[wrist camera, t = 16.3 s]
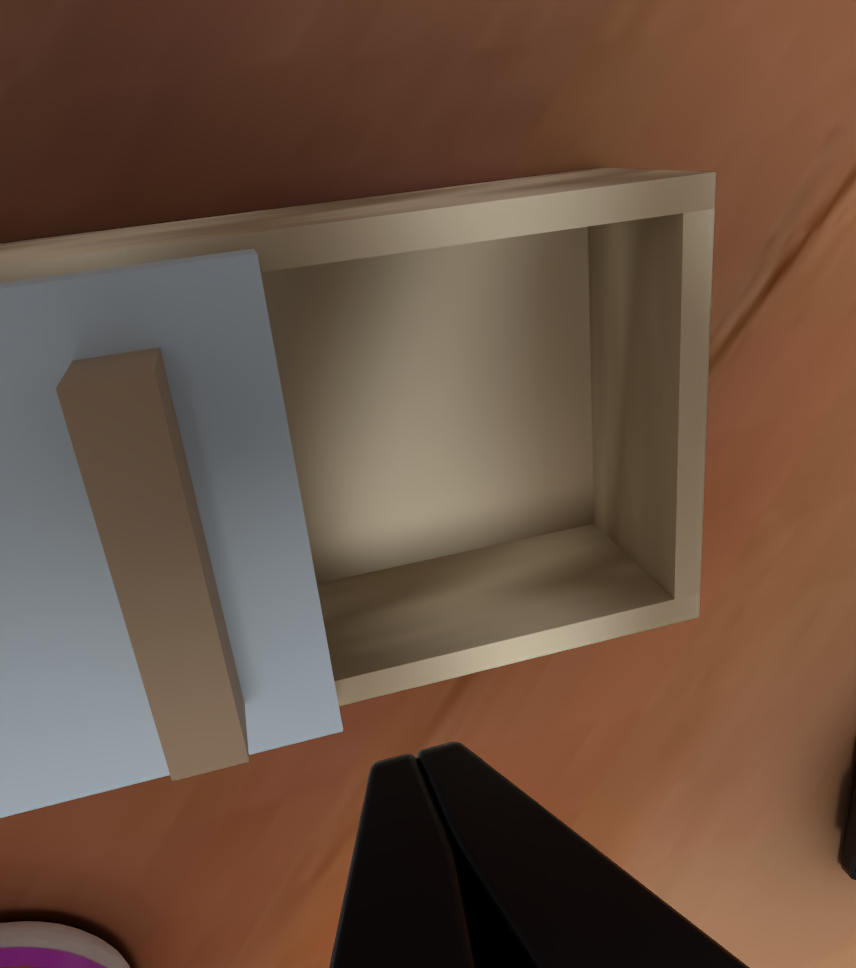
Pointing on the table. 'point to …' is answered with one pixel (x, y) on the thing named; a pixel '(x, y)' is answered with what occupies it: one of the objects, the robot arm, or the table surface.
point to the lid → (149, 533)
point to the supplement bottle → (54, 947)
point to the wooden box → (478, 406)
